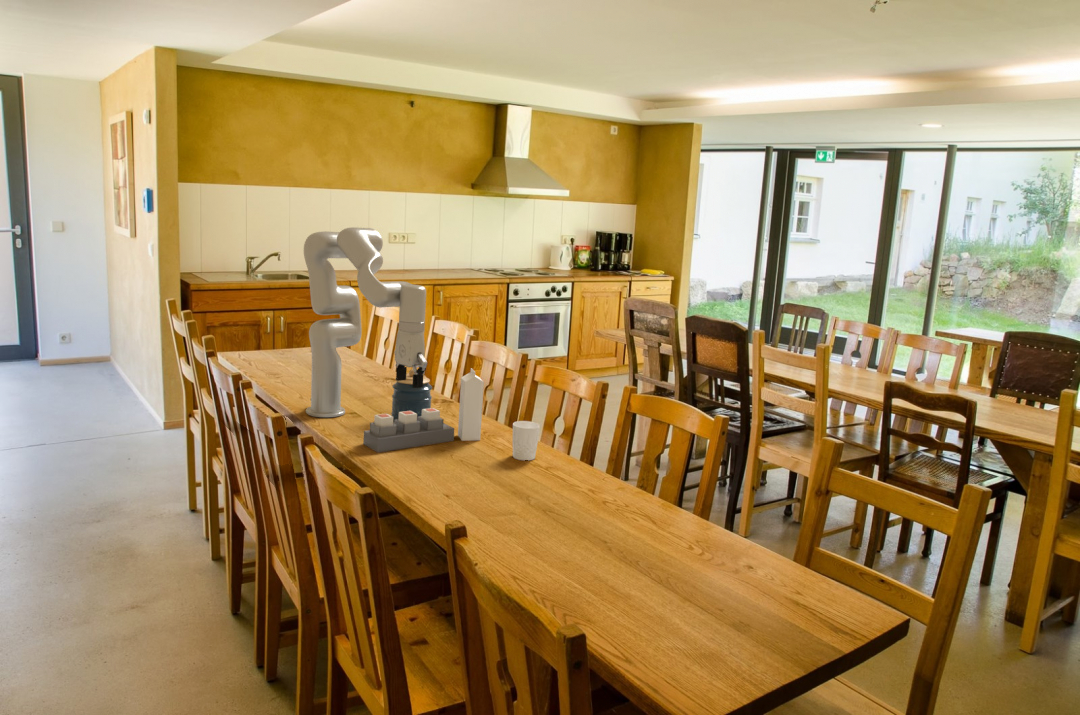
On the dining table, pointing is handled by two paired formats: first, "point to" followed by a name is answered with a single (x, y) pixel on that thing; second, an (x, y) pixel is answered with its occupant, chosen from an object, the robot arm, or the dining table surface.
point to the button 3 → (430, 414)
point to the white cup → (525, 440)
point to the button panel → (407, 435)
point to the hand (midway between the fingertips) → (409, 383)
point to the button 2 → (407, 417)
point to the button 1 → (383, 420)
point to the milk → (470, 407)
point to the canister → (410, 396)
